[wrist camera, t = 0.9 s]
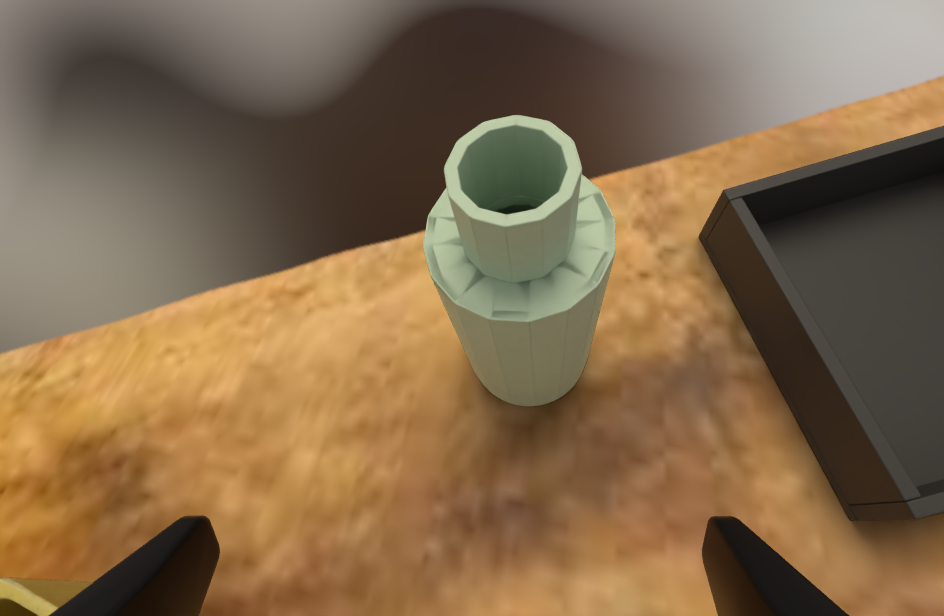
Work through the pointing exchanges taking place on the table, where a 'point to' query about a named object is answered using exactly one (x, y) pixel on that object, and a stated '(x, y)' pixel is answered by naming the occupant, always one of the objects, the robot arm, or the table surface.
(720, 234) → the bin
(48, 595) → the flower pot
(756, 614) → the robot arm
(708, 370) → the table surface
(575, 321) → the bottle
